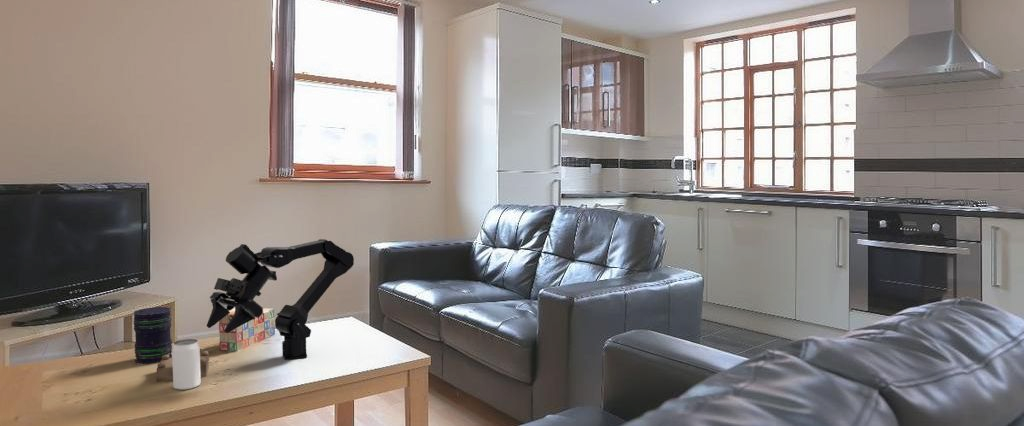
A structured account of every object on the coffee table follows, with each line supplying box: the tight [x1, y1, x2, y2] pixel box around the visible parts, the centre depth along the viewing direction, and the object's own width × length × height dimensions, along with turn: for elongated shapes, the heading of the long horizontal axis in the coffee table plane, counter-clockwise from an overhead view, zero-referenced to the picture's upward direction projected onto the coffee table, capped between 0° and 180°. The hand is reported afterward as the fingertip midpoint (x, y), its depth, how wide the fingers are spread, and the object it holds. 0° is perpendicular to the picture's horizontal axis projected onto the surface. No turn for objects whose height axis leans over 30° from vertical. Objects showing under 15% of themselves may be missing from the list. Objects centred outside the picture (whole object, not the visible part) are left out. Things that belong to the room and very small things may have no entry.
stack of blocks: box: [218, 307, 276, 352], centre depth 208 cm, size 21×6×12 cm, turn 169°
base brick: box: [156, 350, 210, 382], centre depth 176 cm, size 12×10×4 cm
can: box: [171, 338, 202, 391], centre depth 165 cm, size 6×6×12 cm
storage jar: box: [133, 306, 173, 365], centre depth 189 cm, size 10×10×15 cm
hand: (216, 329), depth 172 cm, fingers open, 9 cm apart
